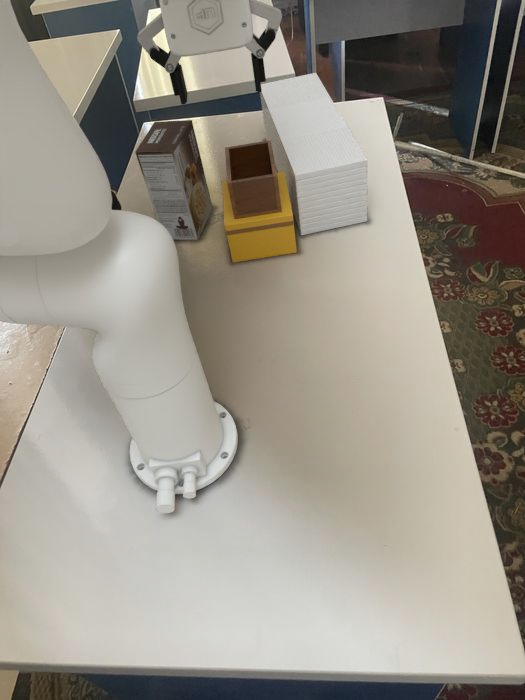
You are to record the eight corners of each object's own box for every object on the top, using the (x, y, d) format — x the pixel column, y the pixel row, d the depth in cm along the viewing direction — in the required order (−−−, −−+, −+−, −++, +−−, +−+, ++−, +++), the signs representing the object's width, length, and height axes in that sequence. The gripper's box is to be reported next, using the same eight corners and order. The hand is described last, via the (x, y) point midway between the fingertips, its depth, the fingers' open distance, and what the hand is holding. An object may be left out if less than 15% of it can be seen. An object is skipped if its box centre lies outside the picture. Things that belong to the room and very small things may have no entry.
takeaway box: (297, 253, 87) (293, 214, 82) (232, 262, 87) (224, 225, 82) (288, 207, 95) (284, 170, 90) (229, 217, 95) (221, 180, 90)
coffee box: (179, 207, 99) (154, 119, 87) (213, 208, 98) (193, 118, 86) (162, 240, 94) (133, 151, 82) (199, 241, 92) (175, 150, 80)
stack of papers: (367, 221, 90) (367, 159, 82) (301, 235, 90) (295, 175, 82) (319, 128, 111) (315, 72, 103) (266, 139, 111) (258, 84, 103)
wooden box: (282, 212, 82) (277, 175, 78) (234, 219, 83) (227, 183, 78) (275, 175, 89) (270, 139, 85) (231, 182, 90) (224, 147, 85)
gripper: (108, -45, 58) (153, 117, 71) (275, -74, 57) (291, 95, 70) (117, -62, 63) (157, 92, 76) (270, -88, 63) (285, 71, 75)
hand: (221, 93), depth 73 cm, fingers open, 9 cm apart
